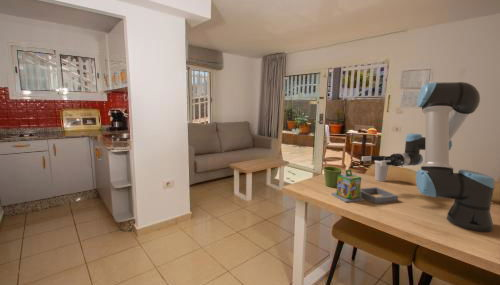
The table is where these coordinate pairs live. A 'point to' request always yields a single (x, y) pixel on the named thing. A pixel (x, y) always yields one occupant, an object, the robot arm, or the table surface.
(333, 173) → the plant pot
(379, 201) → the collar
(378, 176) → the coffee cup
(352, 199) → the pad
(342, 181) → the chalk box
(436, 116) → the robot arm
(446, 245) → the table surface
